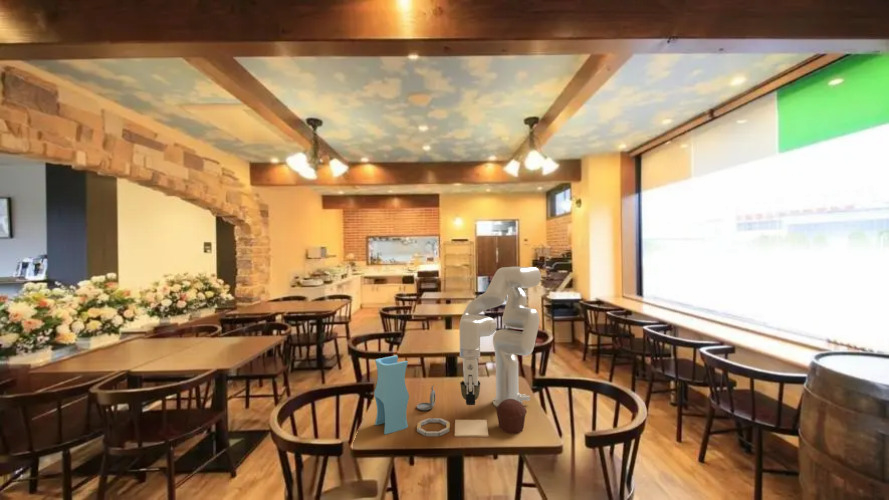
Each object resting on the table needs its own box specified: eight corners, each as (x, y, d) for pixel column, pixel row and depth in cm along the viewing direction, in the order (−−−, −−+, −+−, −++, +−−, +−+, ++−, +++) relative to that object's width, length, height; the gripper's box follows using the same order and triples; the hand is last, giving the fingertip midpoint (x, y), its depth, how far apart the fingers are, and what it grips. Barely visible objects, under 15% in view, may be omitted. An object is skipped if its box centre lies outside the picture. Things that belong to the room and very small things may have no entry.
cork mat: (486, 421, 151) (486, 419, 151) (488, 436, 139) (488, 435, 139) (455, 421, 151) (455, 419, 151) (454, 436, 139) (454, 434, 139)
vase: (409, 427, 147) (408, 361, 147) (385, 434, 142) (383, 366, 141) (398, 417, 155) (396, 355, 155) (374, 424, 150) (373, 359, 150)
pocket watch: (414, 406, 166) (414, 383, 166) (433, 403, 169) (432, 380, 169) (421, 414, 159) (420, 389, 158) (440, 410, 162) (439, 386, 162)
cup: (484, 402, 146) (483, 381, 146) (474, 409, 140) (474, 387, 140) (466, 398, 150) (466, 377, 150) (456, 405, 144) (456, 383, 144)
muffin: (529, 435, 139) (529, 407, 139) (498, 435, 140) (497, 407, 139) (523, 420, 151) (523, 394, 151) (494, 420, 151) (494, 395, 151)
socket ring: (450, 421, 152) (450, 418, 151) (449, 436, 140) (449, 433, 140) (419, 421, 152) (419, 418, 152) (415, 436, 140) (415, 432, 140)
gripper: (481, 359, 136) (481, 410, 136) (479, 346, 153) (479, 392, 153) (459, 359, 136) (460, 410, 136) (459, 346, 154) (460, 391, 154)
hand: (470, 400), depth 145 cm, fingers closed on cup, 6 cm apart
